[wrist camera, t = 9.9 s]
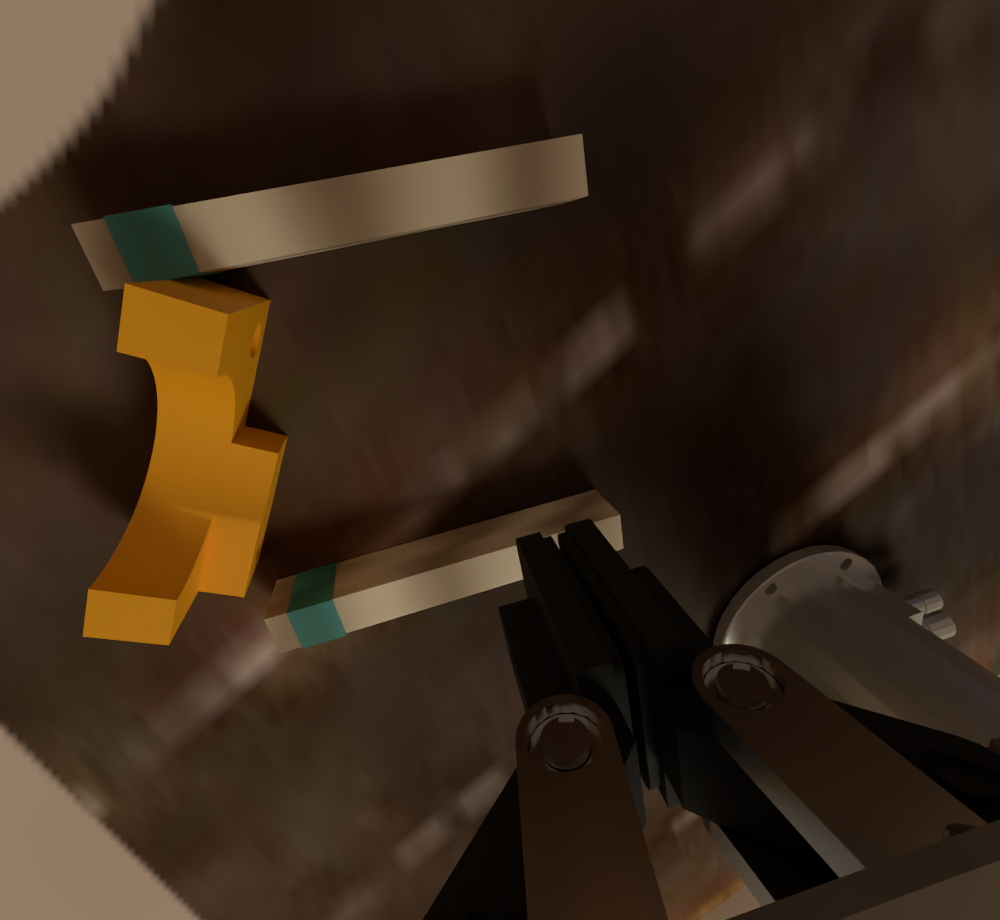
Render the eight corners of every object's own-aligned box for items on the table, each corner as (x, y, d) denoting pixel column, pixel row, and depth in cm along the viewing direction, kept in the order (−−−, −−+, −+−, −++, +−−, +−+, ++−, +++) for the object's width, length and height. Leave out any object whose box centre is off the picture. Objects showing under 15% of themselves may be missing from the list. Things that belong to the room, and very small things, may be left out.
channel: (554, 149, 20) (582, 131, 18) (599, 521, 28) (624, 550, 25) (116, 228, 18) (68, 222, 15) (290, 612, 25) (280, 655, 23)
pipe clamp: (260, 556, 24) (222, 650, 18) (158, 540, 23) (82, 636, 17) (315, 313, 21) (291, 333, 15) (200, 277, 19) (124, 283, 14)
